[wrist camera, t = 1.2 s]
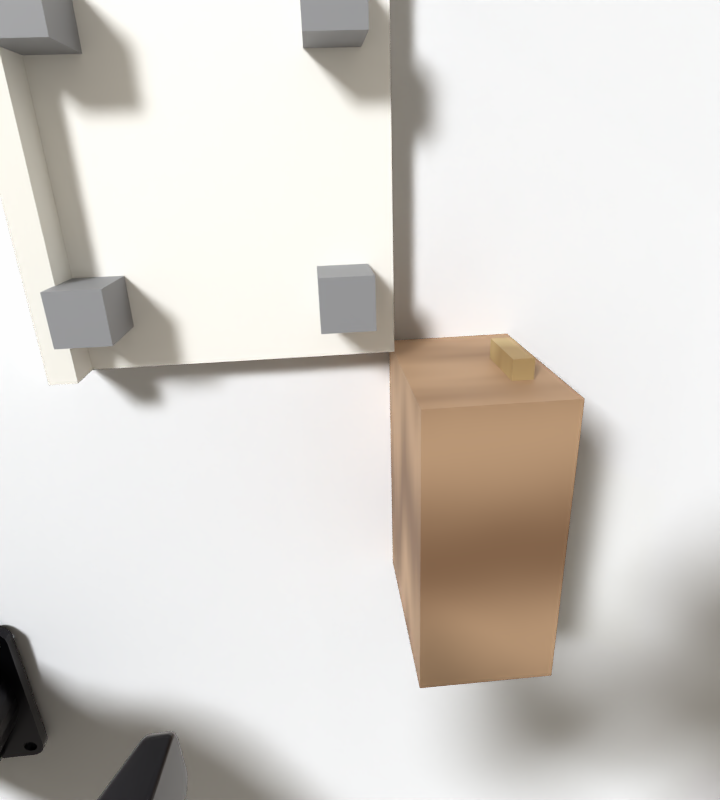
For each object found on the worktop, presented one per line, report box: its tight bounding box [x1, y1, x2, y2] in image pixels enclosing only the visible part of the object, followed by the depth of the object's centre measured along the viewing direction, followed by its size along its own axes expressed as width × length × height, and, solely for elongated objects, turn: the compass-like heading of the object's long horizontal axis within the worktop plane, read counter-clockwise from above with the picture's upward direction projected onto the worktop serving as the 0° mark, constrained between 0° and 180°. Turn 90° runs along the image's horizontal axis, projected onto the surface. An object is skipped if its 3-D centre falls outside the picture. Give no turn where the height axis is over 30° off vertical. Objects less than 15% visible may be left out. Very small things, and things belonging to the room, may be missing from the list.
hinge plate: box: [0, 0, 394, 385], centre depth 15 cm, size 11×10×3 cm
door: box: [389, 334, 584, 688], centre depth 18 cm, size 10×4×6 cm, turn 2°
